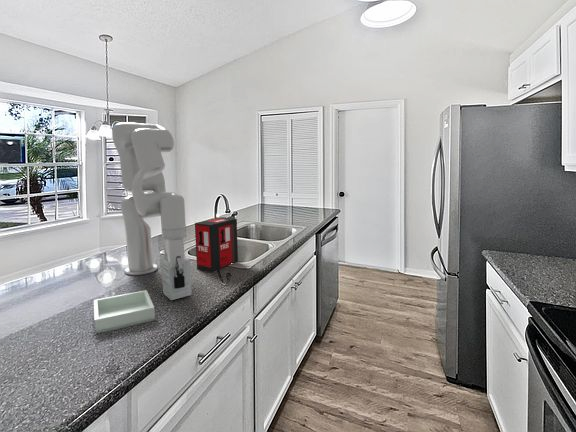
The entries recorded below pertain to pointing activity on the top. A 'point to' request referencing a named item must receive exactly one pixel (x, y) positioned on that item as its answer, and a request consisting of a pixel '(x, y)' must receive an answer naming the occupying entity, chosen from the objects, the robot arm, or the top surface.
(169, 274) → the supplement box
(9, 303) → the top surface
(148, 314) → the tray
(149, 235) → the robot arm
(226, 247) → the cleaning product box
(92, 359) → the top surface
